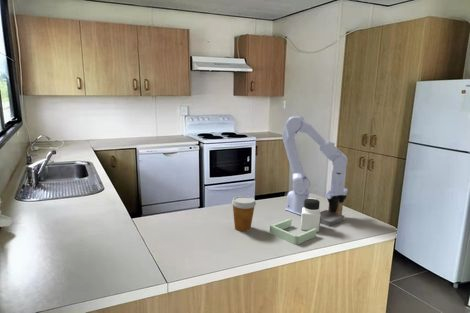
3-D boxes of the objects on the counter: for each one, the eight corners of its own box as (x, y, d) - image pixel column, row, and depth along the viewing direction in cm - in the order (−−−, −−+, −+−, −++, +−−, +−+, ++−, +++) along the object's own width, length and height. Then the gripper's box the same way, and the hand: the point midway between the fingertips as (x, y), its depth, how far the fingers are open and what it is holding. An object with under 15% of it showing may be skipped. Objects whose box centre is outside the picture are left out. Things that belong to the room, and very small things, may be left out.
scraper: (311, 219, 140) (312, 204, 139) (327, 213, 148) (329, 198, 147) (329, 226, 133) (331, 210, 132) (345, 219, 142) (347, 204, 140)
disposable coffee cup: (257, 225, 132) (258, 197, 129) (250, 235, 123) (252, 205, 121) (235, 222, 135) (236, 194, 132) (227, 230, 126) (228, 201, 124)
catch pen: (269, 232, 125) (270, 225, 125) (289, 225, 133) (289, 218, 133) (296, 245, 116) (297, 237, 115) (316, 236, 124) (316, 228, 123)
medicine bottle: (319, 232, 128) (321, 203, 125) (300, 230, 129) (303, 201, 127) (318, 225, 135) (320, 197, 132) (300, 223, 136) (303, 196, 134)
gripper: (337, 186, 133) (334, 217, 136) (355, 181, 143) (351, 210, 145) (322, 182, 138) (319, 212, 141) (340, 177, 148) (337, 205, 150)
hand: (335, 211), depth 143 cm, fingers closed on scraper, 3 cm apart
